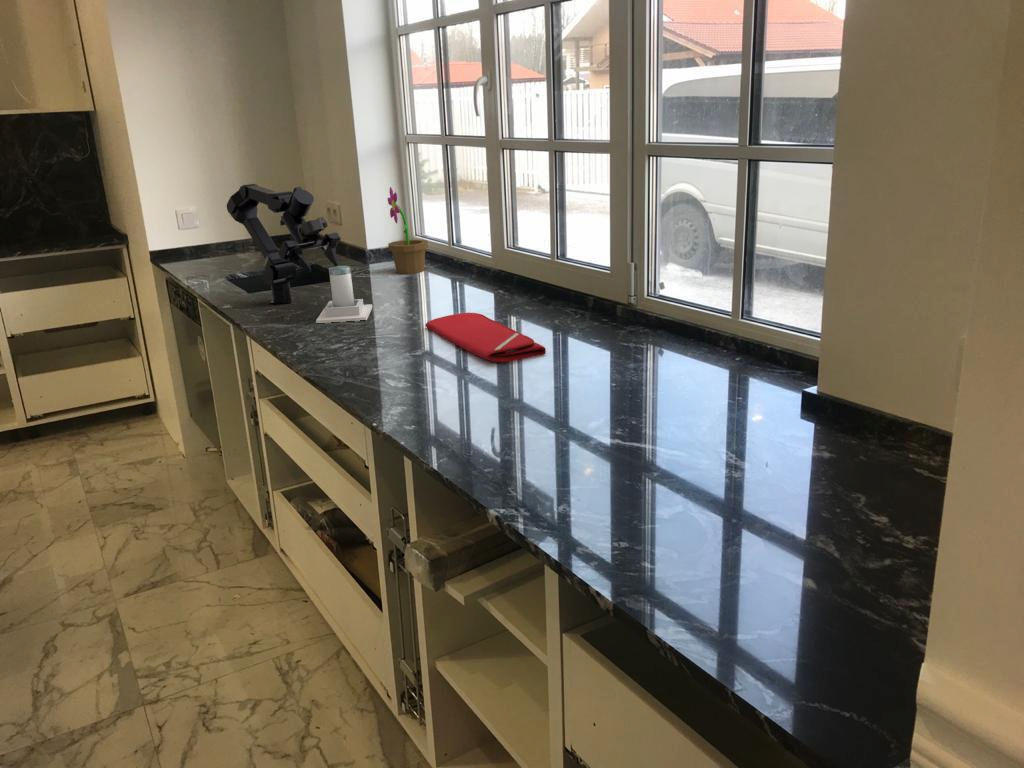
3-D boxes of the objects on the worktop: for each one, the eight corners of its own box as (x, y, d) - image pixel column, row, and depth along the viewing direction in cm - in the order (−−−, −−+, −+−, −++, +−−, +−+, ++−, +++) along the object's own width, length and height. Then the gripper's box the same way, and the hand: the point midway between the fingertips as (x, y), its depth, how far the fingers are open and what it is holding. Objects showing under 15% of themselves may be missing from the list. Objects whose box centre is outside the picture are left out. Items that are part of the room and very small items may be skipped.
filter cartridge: (336, 310, 248) (330, 266, 244) (356, 309, 249) (351, 265, 244) (332, 315, 243) (327, 270, 239) (353, 313, 243) (348, 269, 239)
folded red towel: (478, 320, 234) (477, 307, 233) (548, 356, 199) (547, 340, 197) (425, 329, 228) (423, 316, 227) (486, 368, 192) (485, 352, 191)
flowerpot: (385, 270, 309) (376, 186, 299) (422, 265, 314) (415, 183, 304) (397, 277, 296) (388, 189, 287) (436, 271, 302) (428, 185, 292)
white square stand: (325, 310, 253) (323, 299, 252) (372, 307, 254) (371, 296, 253) (316, 324, 238) (314, 311, 237) (366, 320, 239) (364, 308, 237)
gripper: (278, 213, 238) (305, 256, 235) (333, 204, 251) (360, 245, 247) (267, 238, 246) (293, 280, 243) (321, 229, 259) (346, 269, 255)
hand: (324, 268), depth 247 cm, fingers open, 9 cm apart
